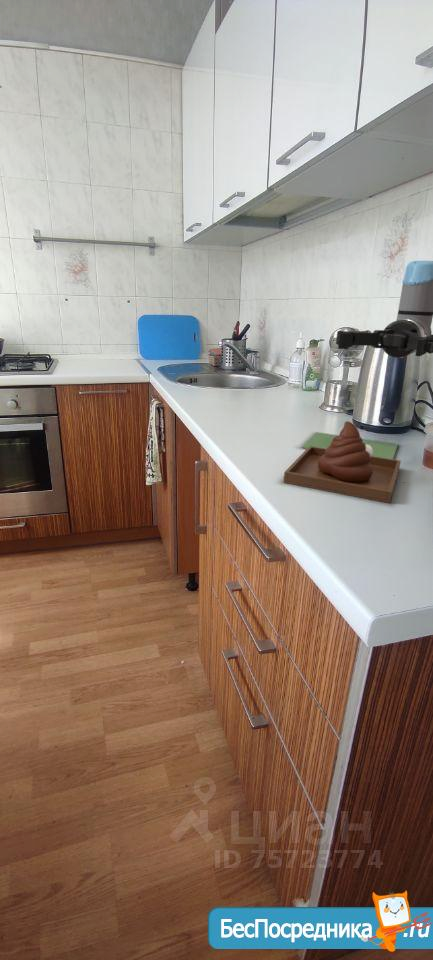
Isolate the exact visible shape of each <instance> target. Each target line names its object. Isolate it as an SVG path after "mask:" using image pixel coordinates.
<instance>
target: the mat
mask: <svg viewBox="0 0 433 960" xmlns="http://www.w3.org/2000/svg"><path fill="white" fill-rule="evenodd" d="M336 436H339V435H338V434H331V433H323V432H315V433H314V434H313V435H312V436H311V437H310V438H309V439H308V440H307V441H306V442H305V443H304V444H303V445H302V446H301V447H302V449H305V450H306V449H307V448H308V447H309V446H313V447H319V448H326V449H327V448H328V447H329V446H330V444H331V442H332V441H333V438H334V437H336ZM362 442H363V443H365V445H366V444H367V445H370V446H371V447H372V449H373V454H372V456H375V457H381V458H387V459H394V458H395V455H396V452H397V449H398V446H399V444H397V443H392V442H385V441H384V442H383V441H378V440H371V439H364V438H362Z"/></svg>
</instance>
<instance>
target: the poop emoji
mask: <svg viewBox="0 0 433 960" xmlns="http://www.w3.org/2000/svg"><path fill="white" fill-rule="evenodd" d="M362 439H363V438H362V437H361V434H360V432H359V430H358V428H357V426H356V425H355V424H354V423H352V422H351V421H345V422H344V425H343V428H342V429H341V430H340V432H339V435H338V436H336V437H334V438H333V441H332V442H331V444H330V446H329V447H328V448H327V449H326V450H325V454H324V455H322V456H321V457H320V459H319V461H318V468H319V470H320V471H321V472H323V473H326V474H331V475H333V476H334V477H336V478H337V479H340V480H342V481H346V482H363V481H366V480H368V479H370V478H371V476H372V473H373V469H372V466H371V464H370V458H371V456H372V454H373V449H372V447H371V446H370V445H367V444H366V445H365V443H363V442H362Z"/></svg>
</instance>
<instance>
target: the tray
mask: <svg viewBox="0 0 433 960" xmlns="http://www.w3.org/2000/svg"><path fill="white" fill-rule="evenodd" d="M325 450H326V448H319V447H313V446H309V447H308V448H307V449H306V448H305V450H304V451H303V452H302V453H301V454H300V456H298V457H297V458H296V459H295V461H294V462H293V463H291V465H289V467H288V468H287V469H285V471H284V472H283V473H284V474H283V483H284V484H289V485H295V486H300V487H304V488H311V489H315V490H321V491H325V492H330V493H336V494H340V495H346V496H351V497H355V498H360V499H365V500H370V501H371V500H372V501H376V502H381V503H386V504H390V503H391V501H392V497H393V494H394V490H395V485H396V483H397V479H398V476H399V471H400V466H401V461H402V460H399V459H394V458H393V459H387V458H381V457H375V456H371V458H370V464H371V466H372V469H373V473H372V476H371V478H370V479H368V480H366V481H363V482H346V481H342V480H340V479H337V478H336V477H334V476H333V475H331V474H326V473H323V472H321V471H320V470H319V468H318V461H319V459H320V457H321V456H322V455H324V454H325Z"/></svg>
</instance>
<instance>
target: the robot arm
mask: <svg viewBox="0 0 433 960" xmlns="http://www.w3.org/2000/svg"><path fill="white" fill-rule="evenodd" d="M432 322H433V260H411V261H409V263H408V264H407V265H406V267H405V271H404V276H403V278H402V287H401V291H400V299H399V305H398V311H397V315H396V320H395V321H392V322H391V323H389V324H387V326H386V327H385V328H384V329H375V330H373V332H372V331H371V330H368V329H366V330H338V331H336V332H337V333H336V338H335V345H338V346H337V349H338V350H349V348H352V347H353V346H367V347H369V346H370V347H371V348H374V349H382V350H383V351H384V352H383V353H385V354H386V355H388V356H389V357H392V358H396V359H399V358H400V359H403V358H405V357H407V356H410V355H411V354H414V352H415V355H414V356H415V357H422V356H424V355H426V354H427V353H428V354H430V355H431V354H433V333H432V332H433V331H432Z"/></svg>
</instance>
